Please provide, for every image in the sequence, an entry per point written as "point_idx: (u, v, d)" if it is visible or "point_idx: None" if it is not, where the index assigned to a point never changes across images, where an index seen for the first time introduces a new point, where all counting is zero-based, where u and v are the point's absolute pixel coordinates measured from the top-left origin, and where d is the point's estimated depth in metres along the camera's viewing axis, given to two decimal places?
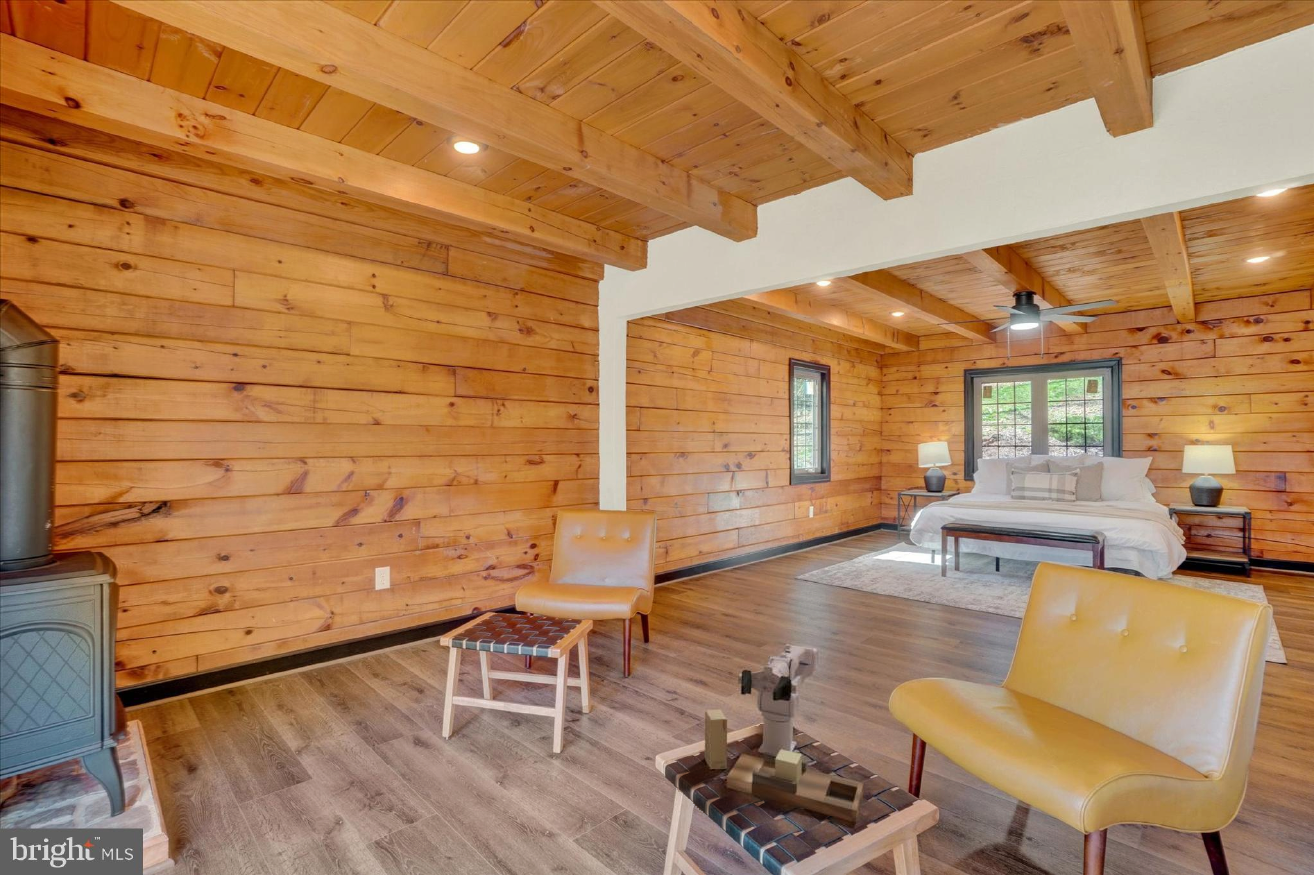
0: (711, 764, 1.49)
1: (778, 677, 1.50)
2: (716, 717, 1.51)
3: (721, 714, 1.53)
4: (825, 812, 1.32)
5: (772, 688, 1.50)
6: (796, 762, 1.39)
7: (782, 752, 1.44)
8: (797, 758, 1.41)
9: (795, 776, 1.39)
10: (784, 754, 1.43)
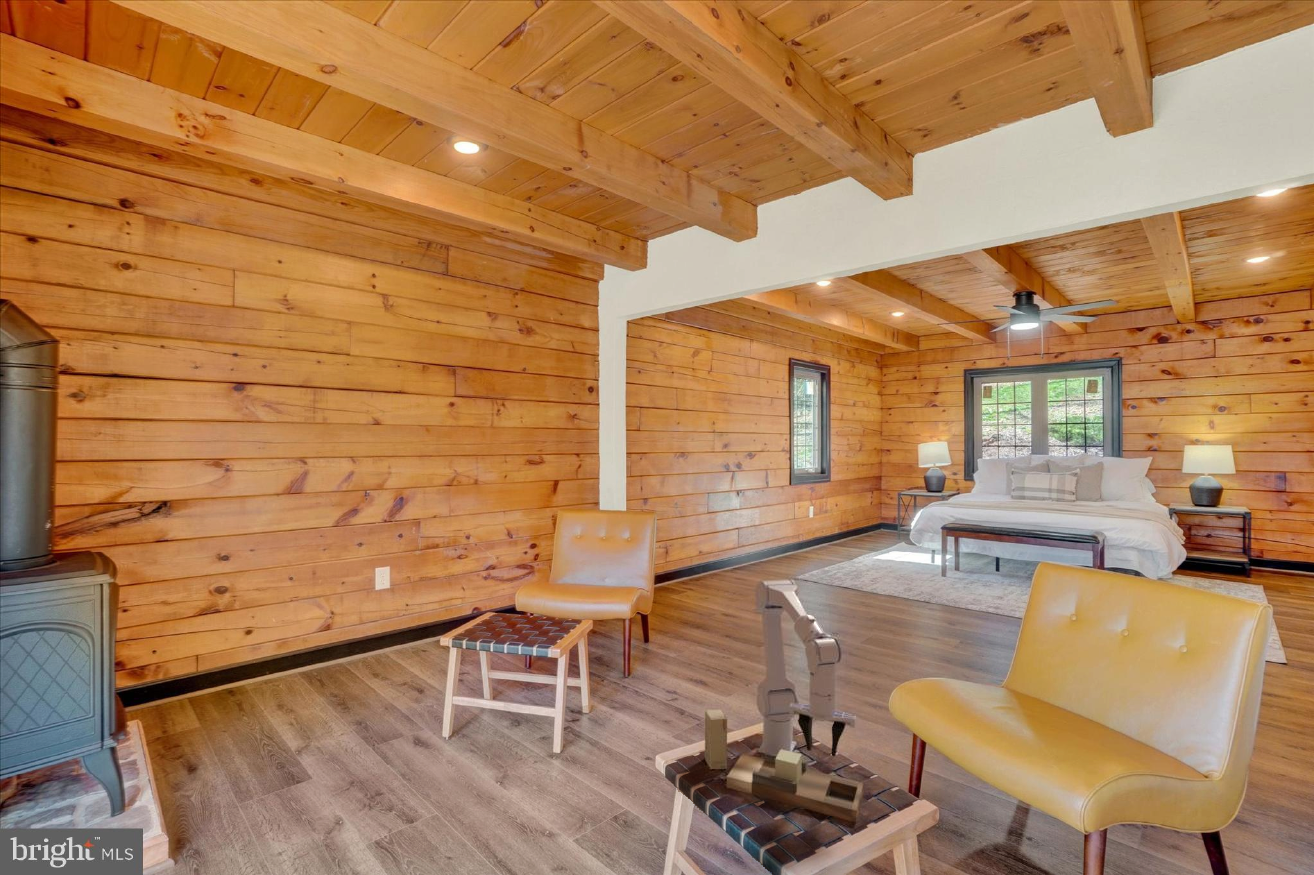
0: (711, 764, 1.49)
1: None
2: (717, 717, 1.51)
3: (721, 714, 1.53)
4: (825, 812, 1.32)
5: None
6: (796, 762, 1.39)
7: (782, 752, 1.44)
8: (797, 758, 1.41)
9: (795, 776, 1.39)
10: (784, 754, 1.43)
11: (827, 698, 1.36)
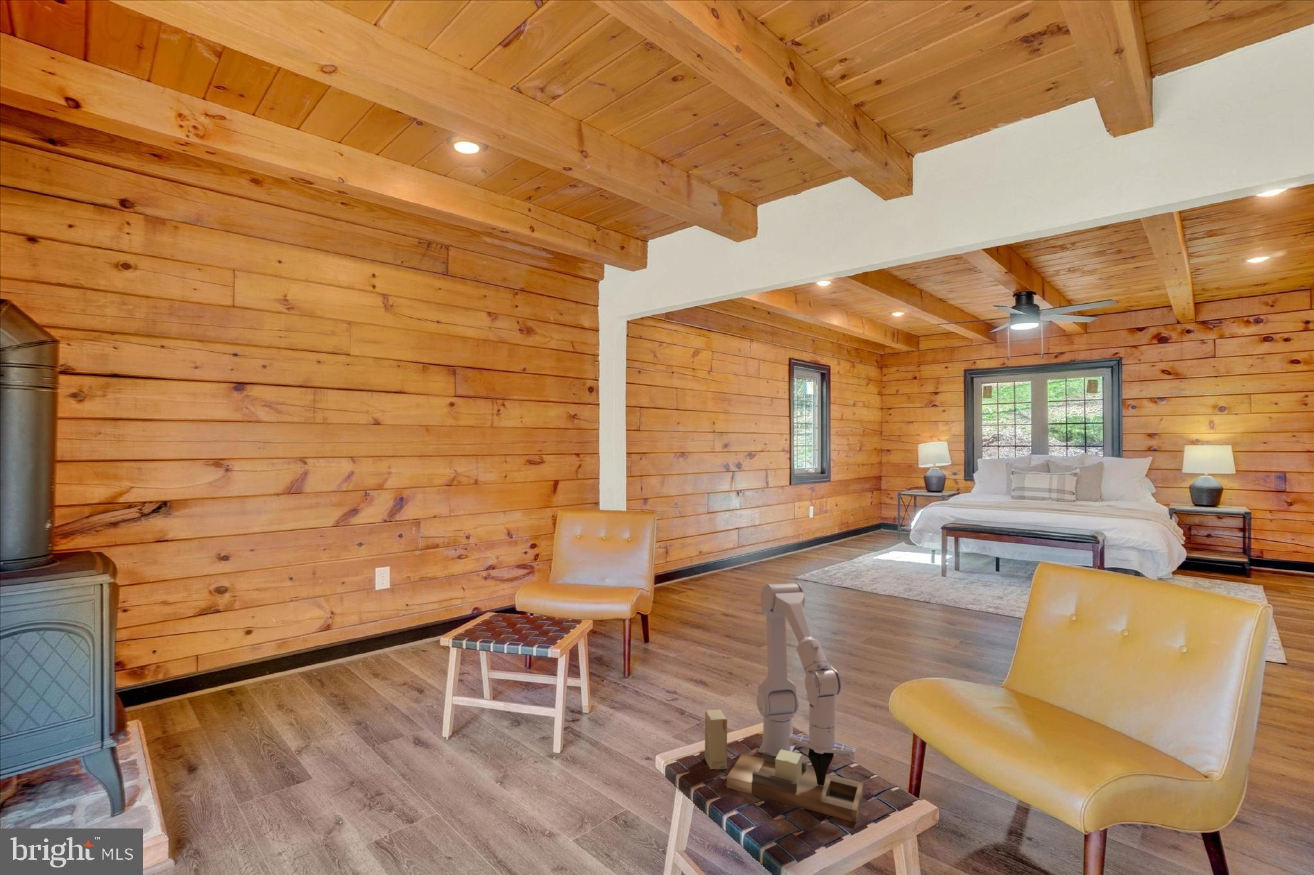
0: (711, 764, 1.49)
1: None
2: (717, 717, 1.51)
3: (721, 714, 1.53)
4: (825, 812, 1.32)
5: None
6: (796, 762, 1.39)
7: (782, 752, 1.44)
8: (797, 758, 1.41)
9: (795, 776, 1.39)
10: (784, 754, 1.43)
11: (827, 730, 1.36)
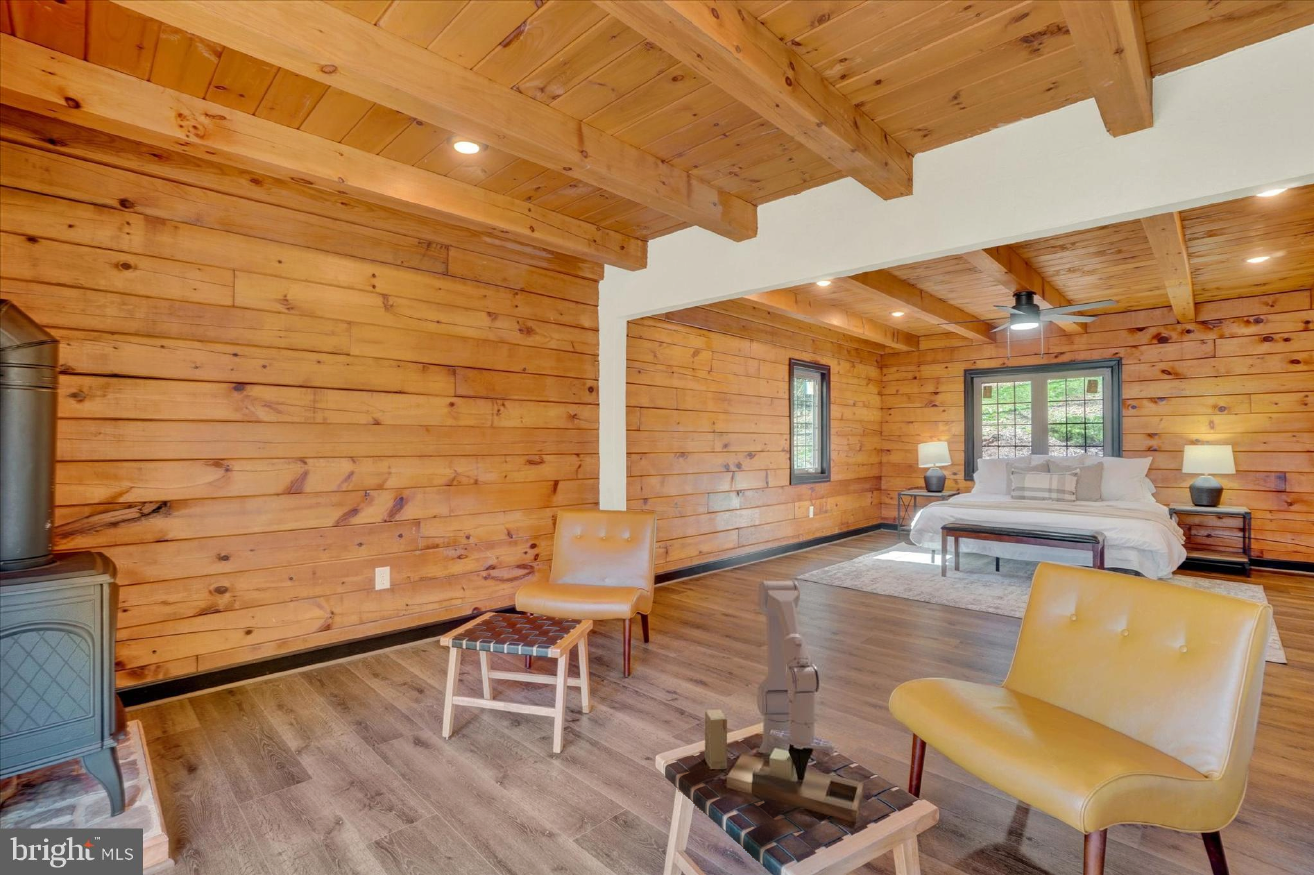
0: (711, 764, 1.49)
1: None
2: (716, 717, 1.51)
3: (721, 714, 1.53)
4: (825, 812, 1.32)
5: None
6: (790, 760, 1.40)
7: (776, 751, 1.44)
8: None
9: (789, 774, 1.39)
10: (778, 752, 1.44)
11: (806, 726, 1.38)
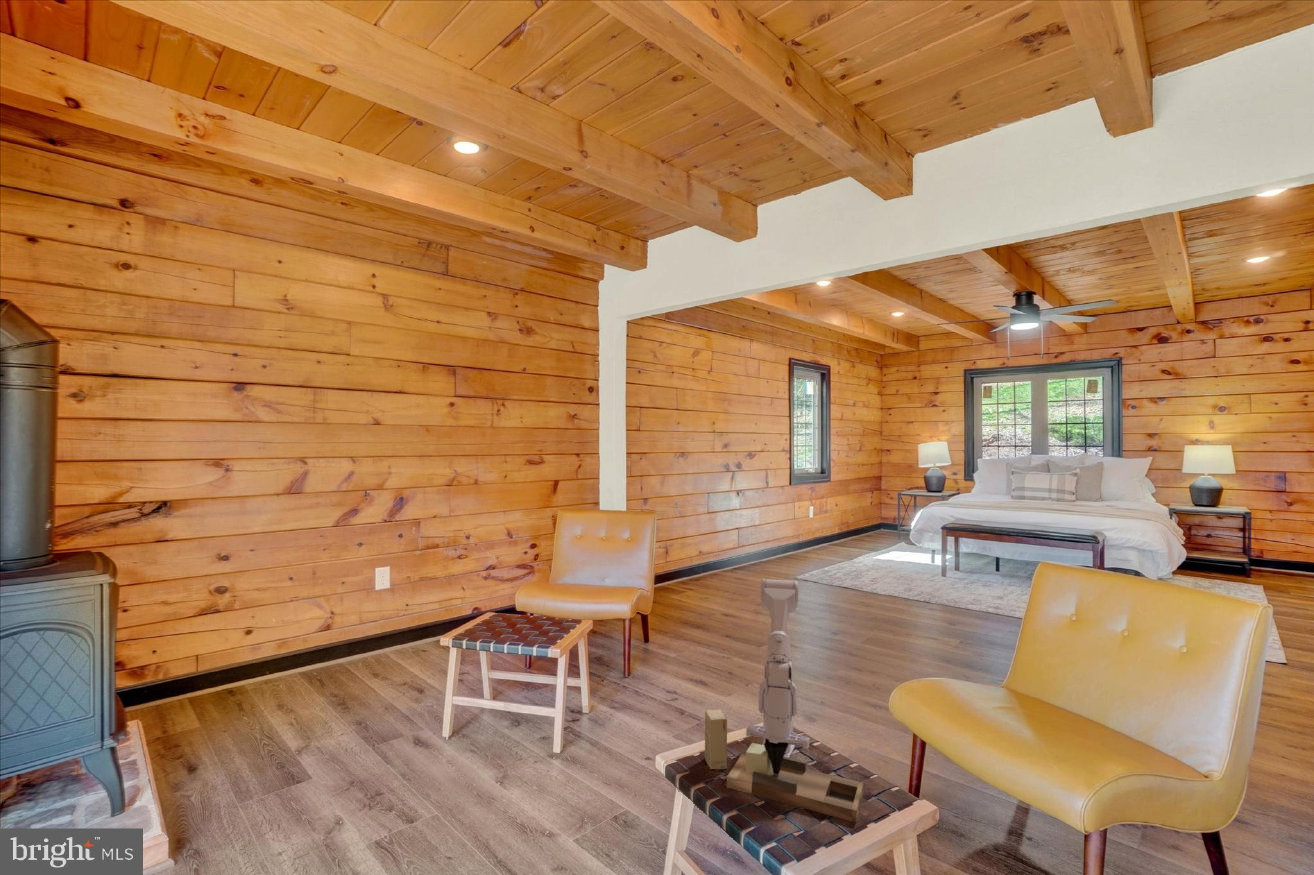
0: (711, 764, 1.49)
1: None
2: (716, 717, 1.51)
3: (721, 714, 1.53)
4: (825, 812, 1.32)
5: None
6: (766, 755, 1.42)
7: (753, 745, 1.47)
8: None
9: (765, 768, 1.42)
10: (755, 747, 1.46)
11: (781, 721, 1.40)
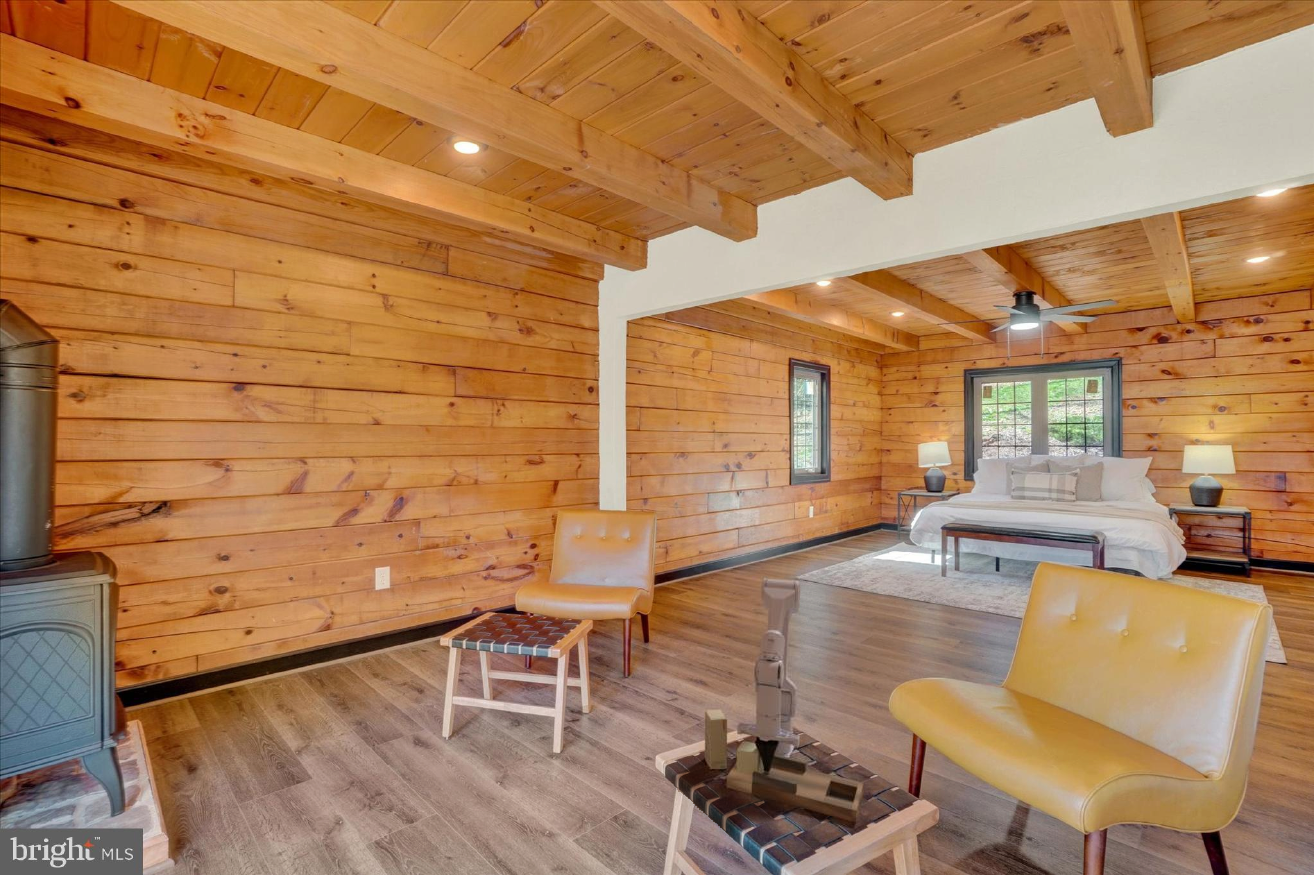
0: (711, 764, 1.49)
1: None
2: (716, 717, 1.51)
3: (721, 714, 1.53)
4: (825, 812, 1.32)
5: None
6: (757, 753, 1.43)
7: (744, 743, 1.48)
8: None
9: (756, 766, 1.43)
10: (746, 745, 1.47)
11: (772, 719, 1.41)
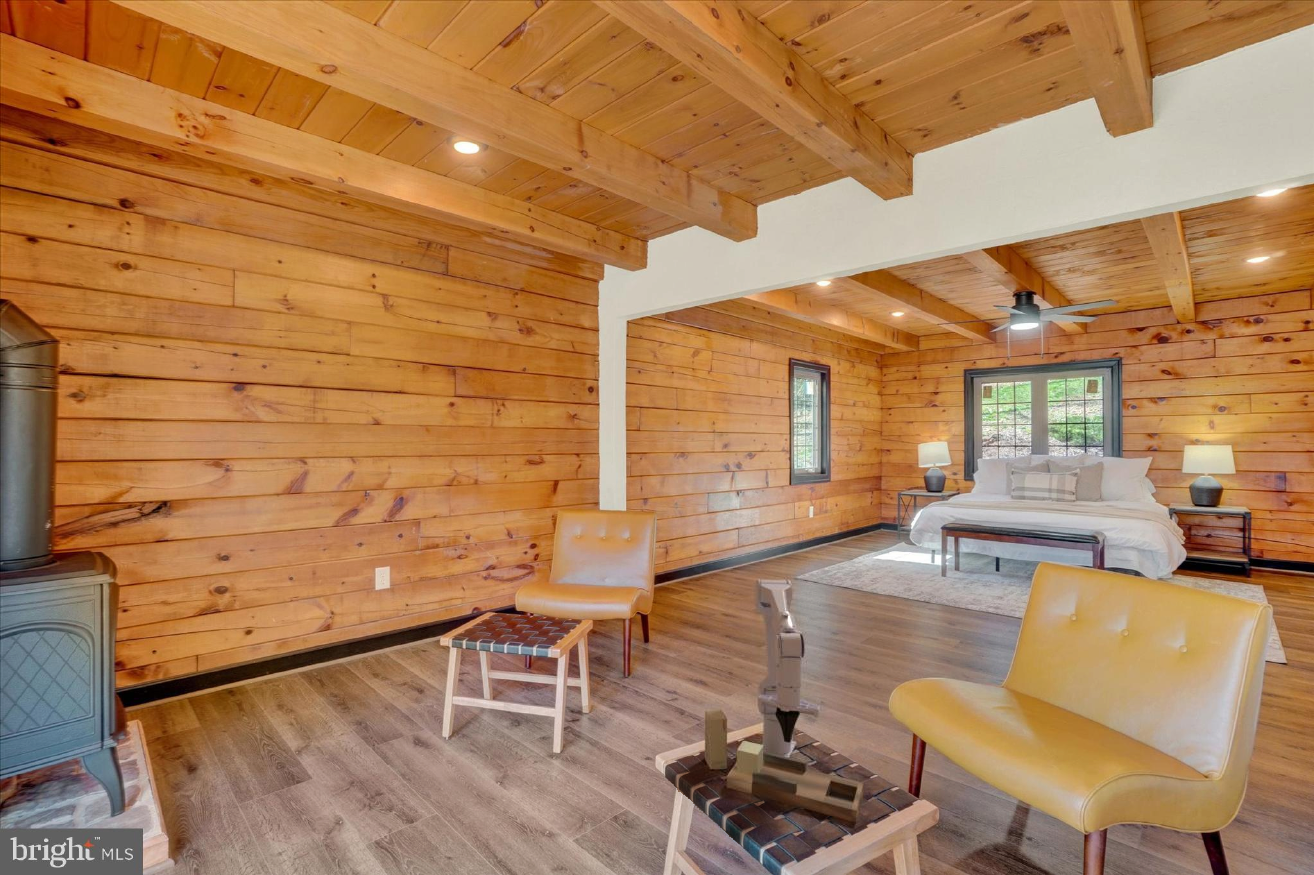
0: (711, 764, 1.49)
1: None
2: (717, 717, 1.51)
3: (721, 714, 1.53)
4: (825, 812, 1.32)
5: None
6: (757, 753, 1.43)
7: (744, 743, 1.48)
8: (758, 749, 1.45)
9: (756, 766, 1.43)
10: (746, 745, 1.47)
11: (792, 690, 1.43)
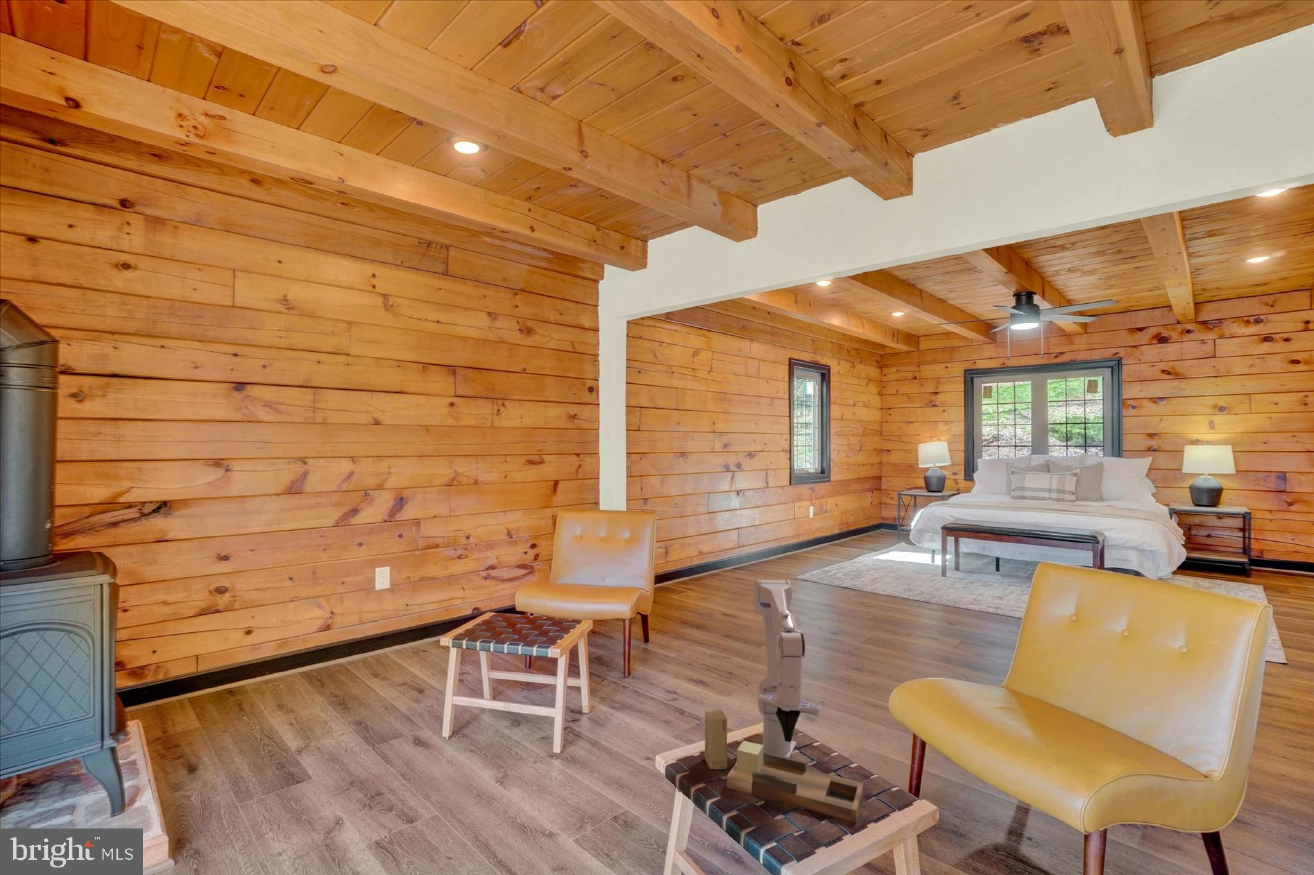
0: (711, 764, 1.49)
1: None
2: (717, 717, 1.51)
3: (721, 714, 1.53)
4: (825, 812, 1.32)
5: None
6: (757, 753, 1.43)
7: (744, 743, 1.48)
8: (758, 749, 1.45)
9: (756, 766, 1.43)
10: (746, 745, 1.47)
11: (793, 689, 1.43)
